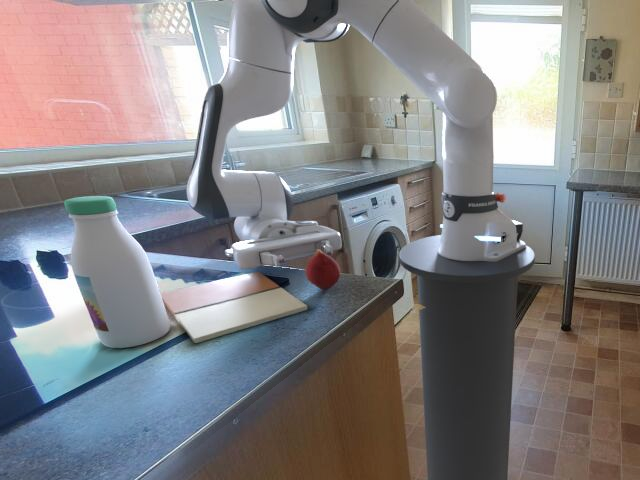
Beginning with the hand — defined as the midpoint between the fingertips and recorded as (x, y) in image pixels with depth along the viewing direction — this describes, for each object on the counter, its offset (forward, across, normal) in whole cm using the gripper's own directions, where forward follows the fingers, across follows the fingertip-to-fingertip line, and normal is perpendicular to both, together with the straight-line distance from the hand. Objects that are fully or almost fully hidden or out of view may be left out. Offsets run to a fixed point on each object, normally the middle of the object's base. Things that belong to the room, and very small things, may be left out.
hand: (306, 256), depth 80 cm
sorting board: (+2, -14, +5) cm, 15 cm away
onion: (+7, 0, +5) cm, 9 cm away
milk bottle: (+5, -27, +5) cm, 28 cm away
